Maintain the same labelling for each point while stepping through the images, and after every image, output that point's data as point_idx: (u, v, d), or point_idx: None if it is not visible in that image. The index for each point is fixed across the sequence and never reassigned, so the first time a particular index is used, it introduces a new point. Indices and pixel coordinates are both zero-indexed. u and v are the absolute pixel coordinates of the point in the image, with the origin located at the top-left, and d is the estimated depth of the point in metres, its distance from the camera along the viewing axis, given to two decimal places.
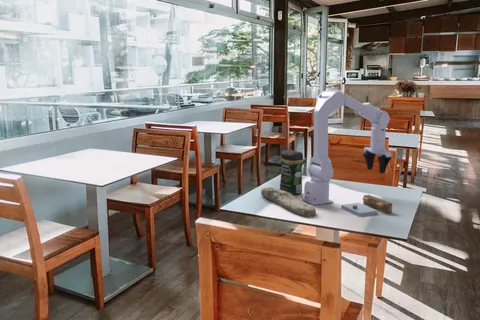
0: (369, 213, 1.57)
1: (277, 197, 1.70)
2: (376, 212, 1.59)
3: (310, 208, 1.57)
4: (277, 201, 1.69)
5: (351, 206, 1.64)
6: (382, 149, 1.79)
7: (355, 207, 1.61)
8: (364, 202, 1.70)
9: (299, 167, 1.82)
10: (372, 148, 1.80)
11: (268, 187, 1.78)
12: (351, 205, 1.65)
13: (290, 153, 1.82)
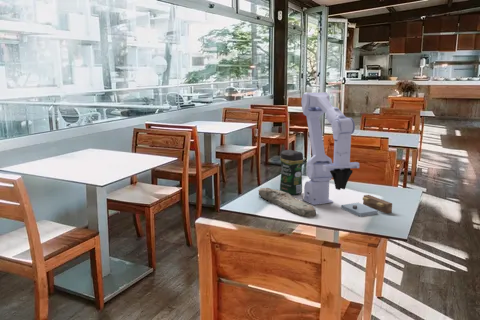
0: (369, 213, 1.57)
1: (276, 197, 1.70)
2: (376, 212, 1.59)
3: (310, 208, 1.57)
4: (276, 201, 1.69)
5: (351, 206, 1.64)
6: (335, 163, 1.54)
7: (355, 207, 1.61)
8: (364, 202, 1.70)
9: (299, 167, 1.82)
10: None
11: None
12: (351, 205, 1.65)
13: (290, 153, 1.82)
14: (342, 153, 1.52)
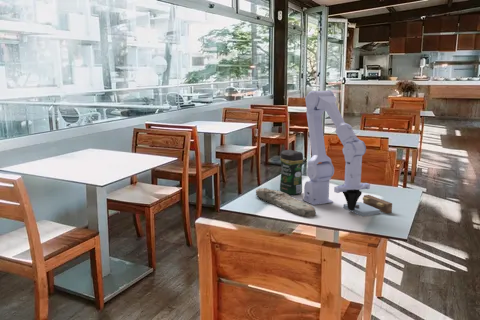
0: (371, 212, 1.58)
1: (274, 198, 1.69)
2: (378, 211, 1.59)
3: (310, 208, 1.57)
4: (274, 202, 1.68)
5: None
6: (346, 184, 1.58)
7: (357, 206, 1.61)
8: (364, 202, 1.70)
9: (299, 167, 1.82)
10: None
11: (264, 188, 1.77)
12: None
13: (290, 153, 1.82)
14: (353, 175, 1.55)
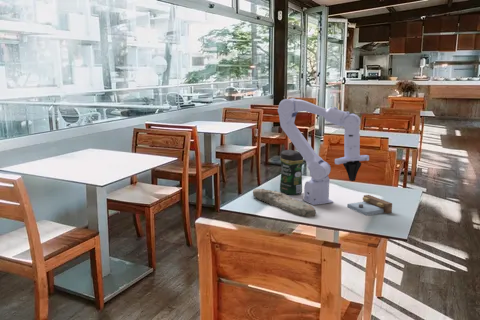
0: (375, 212, 1.59)
1: (273, 198, 1.69)
2: (382, 211, 1.60)
3: (310, 208, 1.57)
4: (273, 202, 1.68)
5: (357, 205, 1.65)
6: (346, 156, 1.65)
7: (361, 206, 1.62)
8: None
9: (299, 167, 1.82)
10: None
11: None
12: (357, 204, 1.66)
13: (290, 153, 1.82)
14: (352, 147, 1.63)
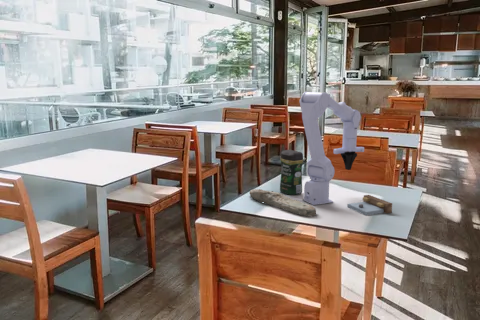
0: (375, 212, 1.59)
1: (271, 198, 1.68)
2: (382, 211, 1.60)
3: (311, 208, 1.57)
4: (272, 203, 1.67)
5: (357, 205, 1.65)
6: (344, 147, 1.82)
7: (361, 206, 1.62)
8: None
9: (299, 167, 1.82)
10: None
11: (258, 189, 1.75)
12: (357, 204, 1.66)
13: (290, 153, 1.82)
14: (350, 138, 1.80)
